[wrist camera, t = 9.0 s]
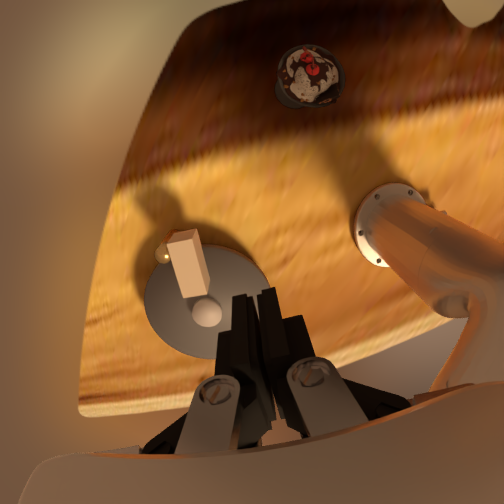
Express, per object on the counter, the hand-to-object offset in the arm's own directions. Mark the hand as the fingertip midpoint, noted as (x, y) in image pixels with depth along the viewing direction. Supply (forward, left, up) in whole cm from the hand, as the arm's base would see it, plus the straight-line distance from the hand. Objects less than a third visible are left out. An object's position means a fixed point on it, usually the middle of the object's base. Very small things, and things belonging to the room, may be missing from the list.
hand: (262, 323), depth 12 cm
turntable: (+8, +14, -27) cm, 31 cm away
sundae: (-8, -12, -29) cm, 33 cm away
